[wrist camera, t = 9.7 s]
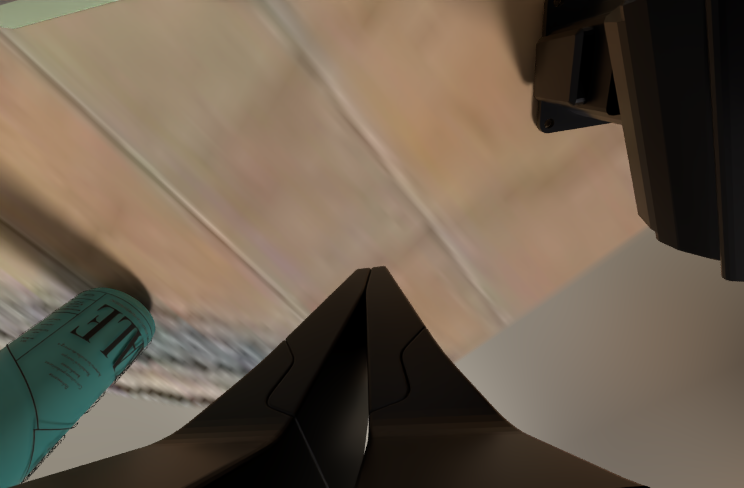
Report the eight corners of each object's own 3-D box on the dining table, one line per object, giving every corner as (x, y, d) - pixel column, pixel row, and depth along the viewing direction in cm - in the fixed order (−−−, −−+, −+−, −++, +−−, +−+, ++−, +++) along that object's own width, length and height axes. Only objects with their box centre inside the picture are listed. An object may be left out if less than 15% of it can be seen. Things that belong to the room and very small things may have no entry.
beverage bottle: (83, 306, 27) (-488, 732, 10) (106, 257, 24) (-631, 726, 7) (154, 345, 29) (-221, 766, 11) (183, 303, 26) (-251, 770, 9)
